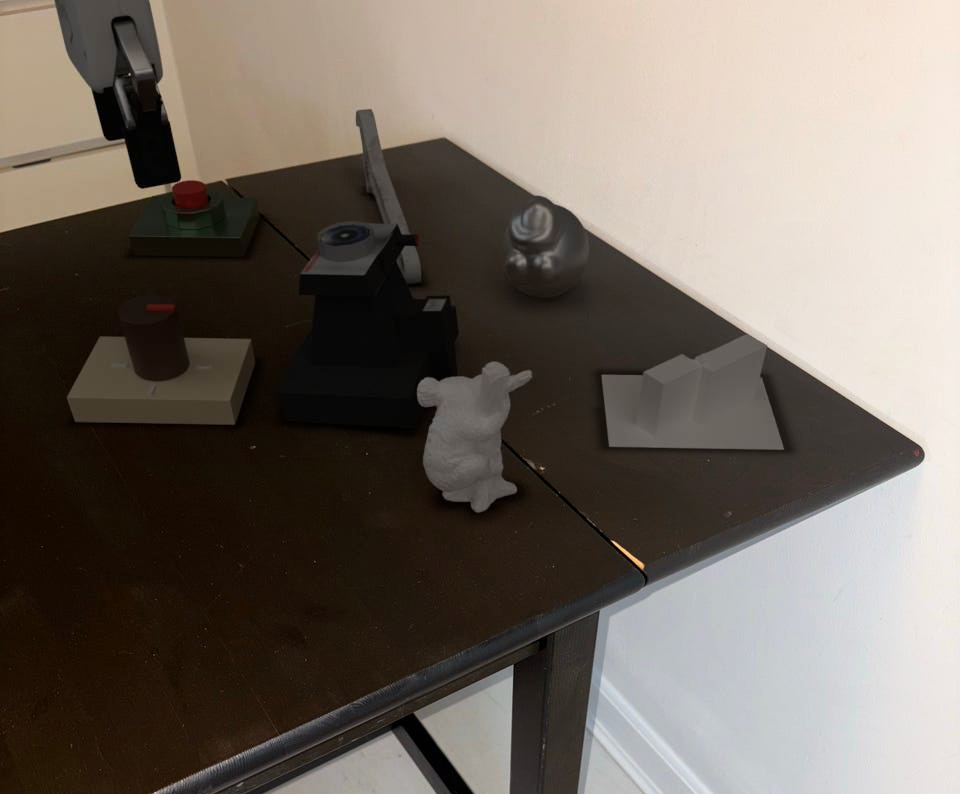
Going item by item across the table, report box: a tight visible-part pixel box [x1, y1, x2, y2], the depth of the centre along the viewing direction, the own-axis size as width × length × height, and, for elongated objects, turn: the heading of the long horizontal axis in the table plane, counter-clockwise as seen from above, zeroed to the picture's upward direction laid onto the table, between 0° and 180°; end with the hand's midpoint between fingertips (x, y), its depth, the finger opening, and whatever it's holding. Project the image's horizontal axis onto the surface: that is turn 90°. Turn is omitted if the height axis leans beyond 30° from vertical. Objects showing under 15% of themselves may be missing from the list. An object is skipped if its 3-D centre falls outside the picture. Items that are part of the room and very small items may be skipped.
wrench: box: [355, 108, 422, 285], centre depth 110 cm, size 8×2×30 cm
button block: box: [128, 187, 261, 258], centre depth 109 cm, size 12×10×4 cm
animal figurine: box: [417, 361, 533, 514], centre depth 75 cm, size 8×7×12 cm
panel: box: [66, 336, 256, 426], centre depth 88 cm, size 14×10×3 cm
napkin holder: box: [600, 333, 785, 451], centre depth 85 cm, size 15×11×6 cm
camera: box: [276, 220, 460, 429], centre depth 85 cm, size 16×14×15 cm
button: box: [171, 179, 209, 208], centre depth 107 cm, size 4×4×2 cm
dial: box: [117, 294, 190, 381], centre depth 85 cm, size 5×5×6 cm
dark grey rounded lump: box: [500, 195, 590, 299], centre depth 98 cm, size 9×10×10 cm
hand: (142, 159), depth 73 cm, fingers open, 9 cm apart
